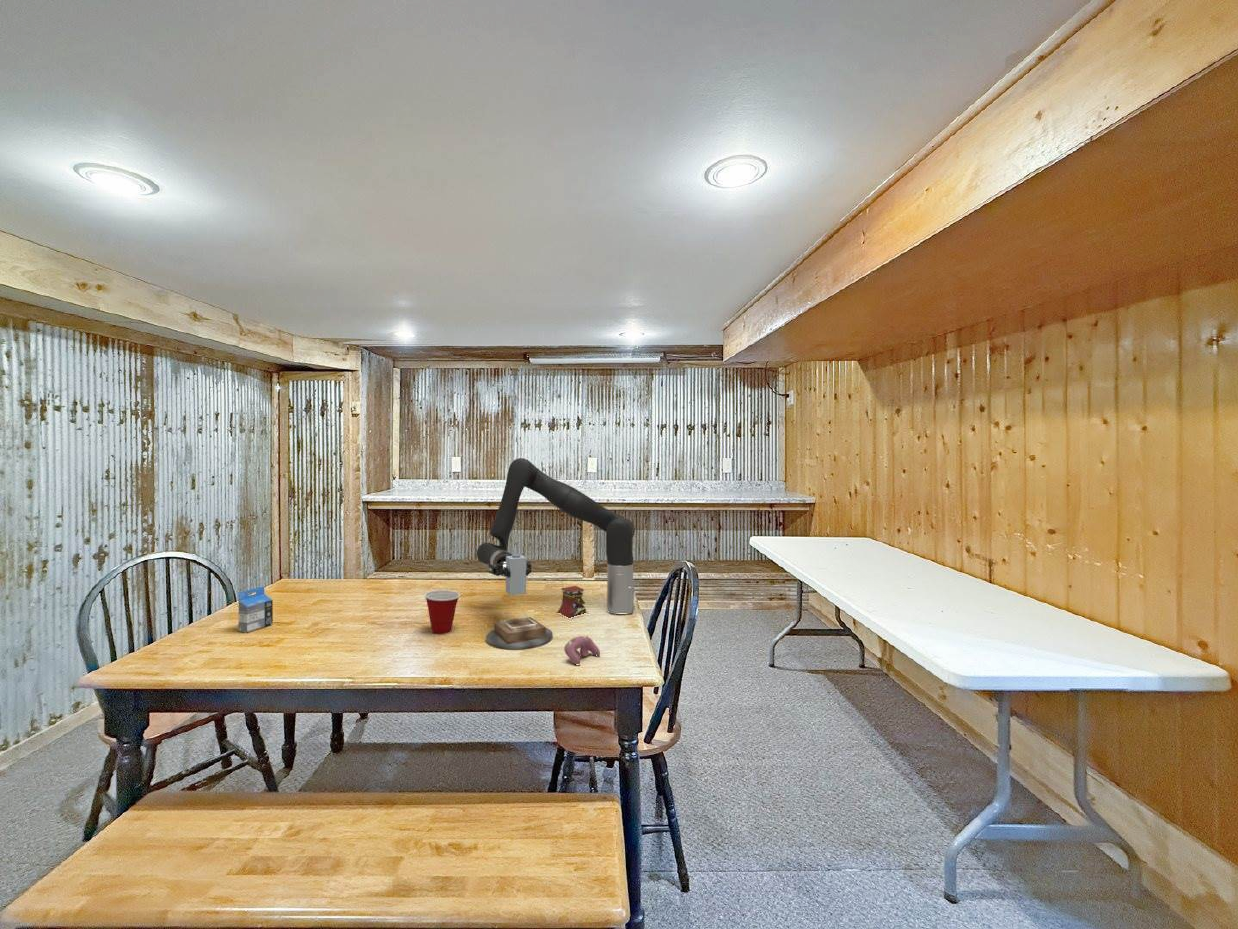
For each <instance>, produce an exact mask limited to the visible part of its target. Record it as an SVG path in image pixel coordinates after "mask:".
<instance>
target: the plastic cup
mask: <svg viewBox="0 0 1238 929" xmlns="http://www.w3.org/2000/svg"><path fill="white" fill-rule="evenodd" d="M460 597H461V594H460V592H458V591H455V590H452V589H451V590H450V589H449V590H448V589H435V590H430V591H427V592H425V593H424V598H425V600H426V603H427V604H426V605H427V609H428V614H429V615H428V617H429V621H430V627H431V631H432V633H433V634H438V635H439V634H440V635H441V634H447V633H450V632H452V628H453V624H454V618H455V614H456V613H455V612H456V608H457V604H458V600H459V598H460Z"/></svg>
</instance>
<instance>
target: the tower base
mask: <svg viewBox="0 0 1238 929" xmlns="http://www.w3.org/2000/svg"><path fill="white" fill-rule="evenodd" d="M553 634H554V633H553V631H552V630H551V629H549V628H548V627H546V626H544V625H543V624H541V623H540V622H539V621H537V620H536V619H535V618H533V617H531V616H524V617H516V618H511V619H504V620H501V621H497V622H494V623H493V629H492V630H490V631H489V632H487V634H486V635H485V642H486V644H487V645H488V646H490V645H491V646H490V647H492V646H493V647H492V648H495V647H496V648H495V649H500V650H507V651H508V650H509V651H516V650H519V651H521V650H529V649H534V648H535V649H536V648H539V647H541V645H542V646H544V645H543V644H545V645H546V644H548V643H550V642H551V641H552V640H553V636H554V635H553ZM551 639H552V640H551ZM538 646H539V647H538Z"/></svg>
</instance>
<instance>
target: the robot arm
mask: <svg viewBox="0 0 1238 929" xmlns="http://www.w3.org/2000/svg"><path fill="white" fill-rule="evenodd" d="M507 471H508V472H507V475H506V482H505V486H504V488H503V489H504V490H503V493H502V497H501V501H500V504H499V506H498V508H497V511H496V514H495V517H494V520H493V523H492V526H491V528H490V531H489V535H490V536H492V537H493V538H494V539H496V540H498V544H499V545H497V544H494V543H491V542H483V543H481V544H480V545H478V547H477V549H476V557H477V560H478V561H479V562H480V563H483V564H485V565H488V573H489V574H490V575H494V576H497V577H500V576H502V577H505V578H506V576H507V577H511V571H510V570H509V569H508V568H506V556H512V554H513V553H511V552H509V551H508V547H509V540H510V535H511V532H512V529H513V527H514V525H515V520H516V517H517V513H518V507H519V506H518V505H519V502H520V498H521V495H522V492H523V490H524V489H525V488H528V489H530V490H531V491H533V492H536V493H537V494H539V495H541V496H542V497H544V498H545V499H546V500H547V501H548V502H549V503H551V504H552V505H553V506H554V507H556V508H558V509H559V510H561V511H562V512H564V513H565V514H567V515H569V516H571V517H573V518H575V519H577V520H580V521H583V522H586V523H588V524H591V525H593V526H595V527H597V528H599V529H601V530H602V531H604V532H605V547H606V548H605V549H606V551H605V554H606V559H607V565H606V566H607V572H606V573H607V575H606V580H607V581H606V583H607V584H606V611H607V610H608V611H609V612H611V613H632V614H633V612H634V610H633V609H634V608H635V605H634V604H635V603H634V602H635V584H634V555H633V538H634V537H635V534H636V533H635V532H636V530H635V529H636V528H635V526H634V524H633V522H632V521H631V519H628V518H627V517H624V516H622V515H620V514H618V513H615V512H614V511H612V510H609V509H607V508H606V507H604V506H603V505H601V504H600V503H599V502H597V501H595V500H594V499H592V498H591V497H589V496H588V495H586V494H585V493H583V492H582V491H580V490H578V489H576V488H575V487H573V486H571V485H570V484H567V483H565V482H562V481H560V480H557V479H555V478H552V477H551V476H549V475H547V474H546V473H544V472H543V471H542V470H540V469H539V468H538V467H537V466H535V464H534V463H532V462H531V461H530V460H528V458H527V459H526V458H524V457H519V458H515V459H514V460H513V461H511V463H510V464H509V466H508V470H507ZM532 572H533V571H532V562H531V561H530V560H528V561H526V577H528V576H529V575H530V574H531V573H532ZM632 611H633V612H632ZM611 613H610V614H611Z"/></svg>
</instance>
